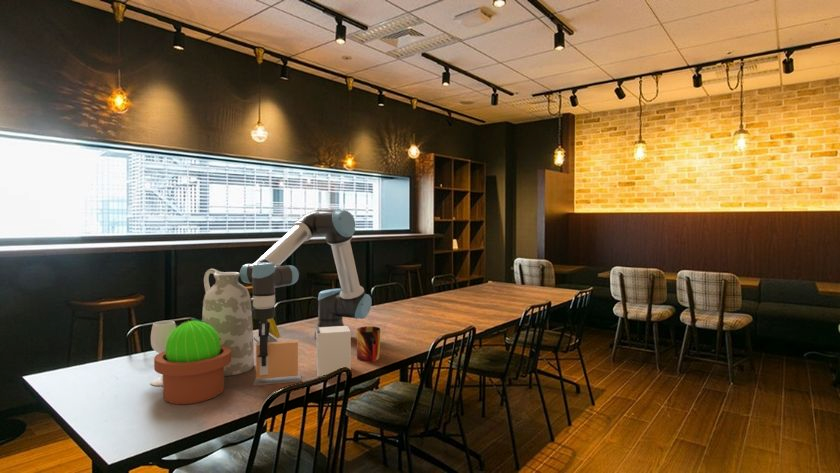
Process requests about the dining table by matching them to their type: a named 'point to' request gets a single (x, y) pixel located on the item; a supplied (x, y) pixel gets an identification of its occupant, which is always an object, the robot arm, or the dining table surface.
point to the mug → (368, 343)
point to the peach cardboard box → (279, 359)
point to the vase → (230, 318)
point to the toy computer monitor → (272, 330)
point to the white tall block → (332, 349)
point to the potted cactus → (192, 363)
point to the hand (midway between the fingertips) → (264, 372)
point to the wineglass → (160, 341)
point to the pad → (277, 380)
